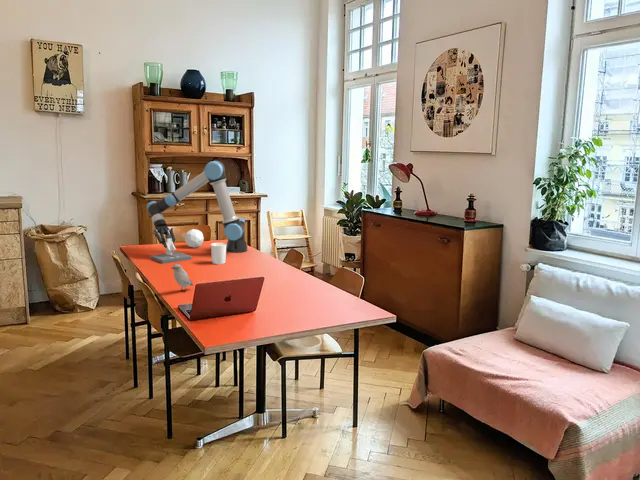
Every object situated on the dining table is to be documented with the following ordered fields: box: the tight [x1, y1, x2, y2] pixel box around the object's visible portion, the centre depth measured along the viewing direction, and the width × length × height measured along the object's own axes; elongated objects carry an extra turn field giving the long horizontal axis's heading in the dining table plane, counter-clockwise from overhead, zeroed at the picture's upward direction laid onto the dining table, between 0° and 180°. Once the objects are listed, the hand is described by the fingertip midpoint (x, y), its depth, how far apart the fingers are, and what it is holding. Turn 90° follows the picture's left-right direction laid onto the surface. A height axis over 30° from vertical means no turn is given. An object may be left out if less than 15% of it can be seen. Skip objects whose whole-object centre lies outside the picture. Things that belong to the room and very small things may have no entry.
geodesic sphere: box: [184, 228, 205, 249], centre depth 385 cm, size 14×14×14 cm
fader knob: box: [164, 235, 173, 255], centre depth 347 cm, size 3×3×13 cm
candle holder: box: [210, 242, 227, 265], centre depth 339 cm, size 10×10×12 cm
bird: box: [171, 263, 194, 293], centre depth 274 cm, size 5×14×15 cm, turn 142°
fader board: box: [150, 251, 193, 264], centre depth 346 cm, size 20×17×2 cm
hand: (171, 250), depth 345 cm, fingers closed on fader knob, 3 cm apart
